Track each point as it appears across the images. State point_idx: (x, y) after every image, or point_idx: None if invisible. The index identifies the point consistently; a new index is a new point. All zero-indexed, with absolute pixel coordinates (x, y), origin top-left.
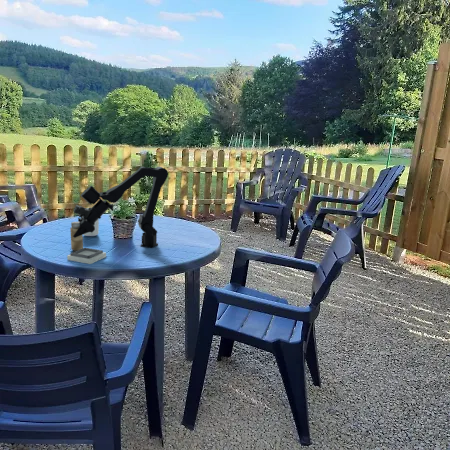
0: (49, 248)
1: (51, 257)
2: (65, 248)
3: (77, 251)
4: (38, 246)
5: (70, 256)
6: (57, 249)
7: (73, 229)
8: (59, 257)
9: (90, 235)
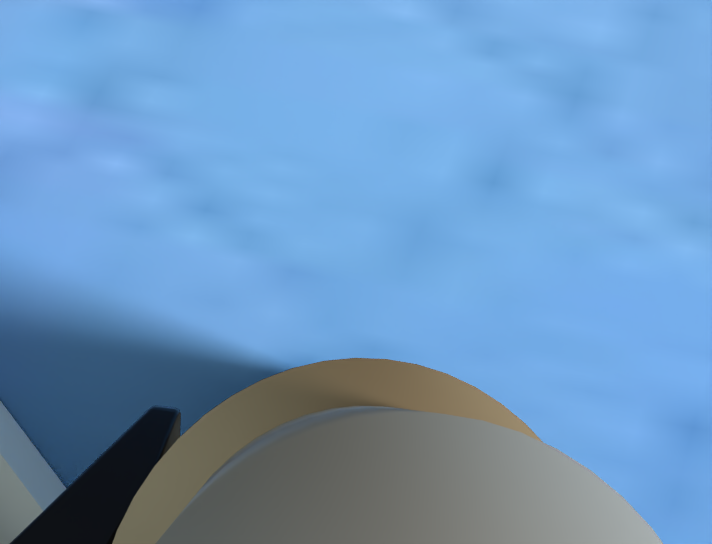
0: (568, 114)
1: (118, 50)
2: (495, 321)
3: None
4: (703, 8)
5: None
6: (482, 203)
7: (171, 451)
8: (63, 148)
9: None
